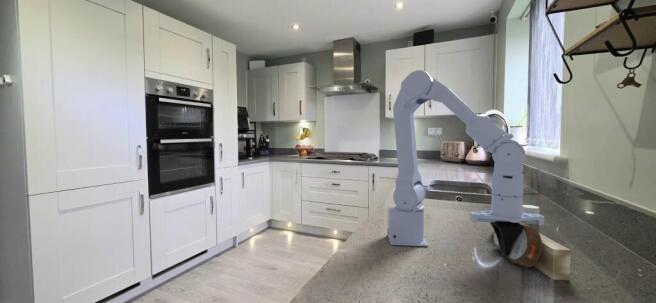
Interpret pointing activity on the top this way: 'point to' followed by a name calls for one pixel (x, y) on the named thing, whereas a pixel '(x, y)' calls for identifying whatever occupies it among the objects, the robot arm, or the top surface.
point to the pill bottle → (532, 210)
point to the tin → (524, 246)
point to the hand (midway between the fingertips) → (504, 254)
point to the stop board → (553, 259)
